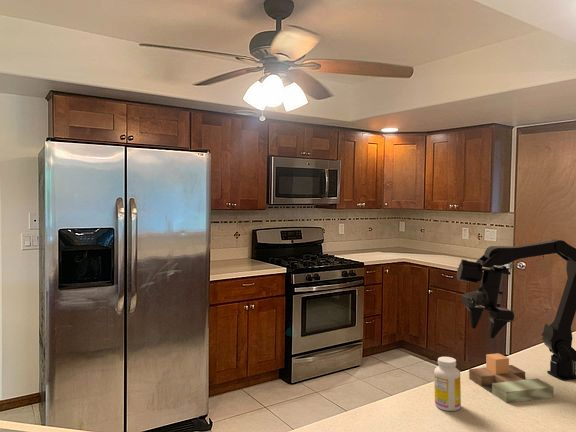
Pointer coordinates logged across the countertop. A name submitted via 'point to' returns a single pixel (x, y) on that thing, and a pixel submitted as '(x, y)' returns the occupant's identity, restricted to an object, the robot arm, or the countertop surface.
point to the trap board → (511, 385)
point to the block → (497, 363)
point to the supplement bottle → (447, 385)
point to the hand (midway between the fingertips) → (482, 333)
